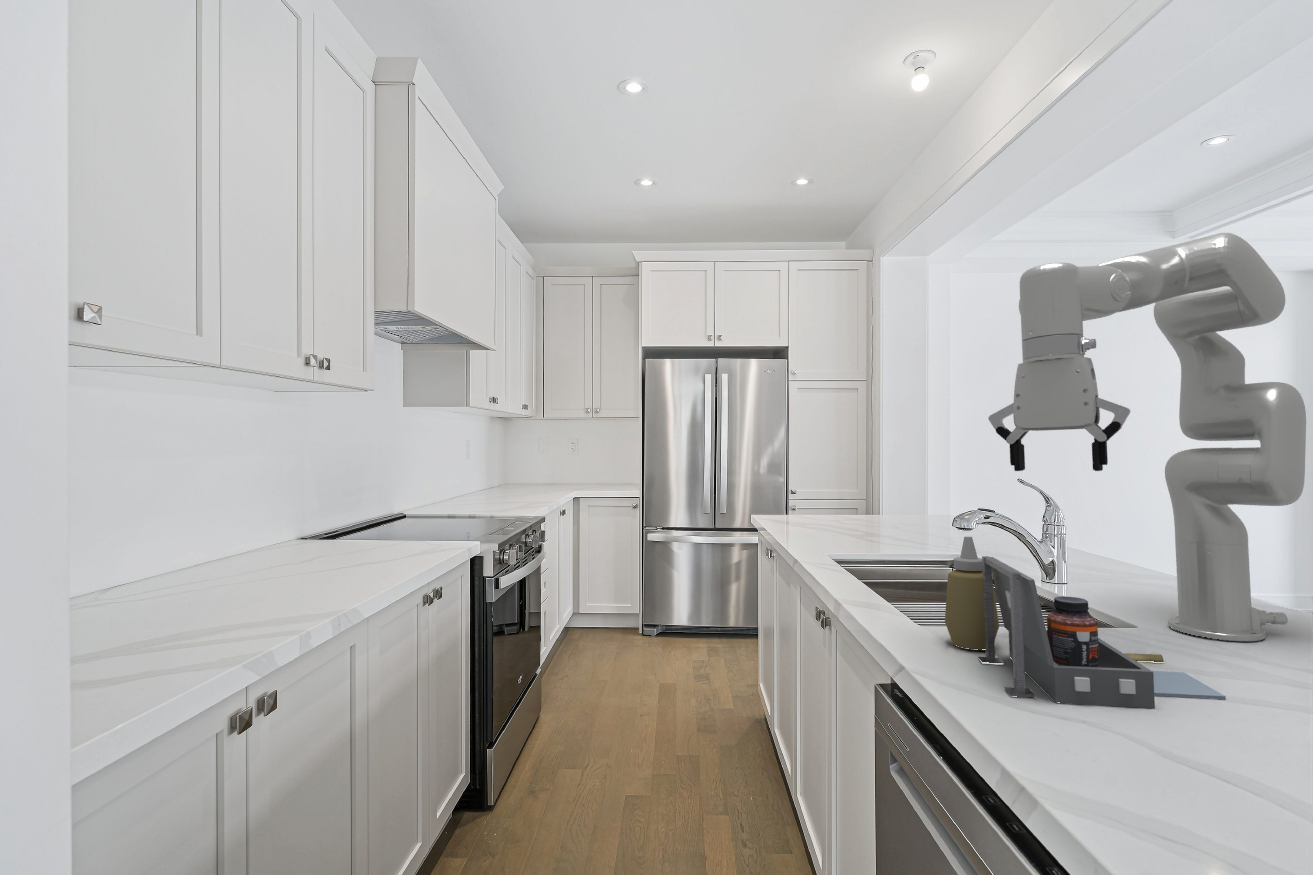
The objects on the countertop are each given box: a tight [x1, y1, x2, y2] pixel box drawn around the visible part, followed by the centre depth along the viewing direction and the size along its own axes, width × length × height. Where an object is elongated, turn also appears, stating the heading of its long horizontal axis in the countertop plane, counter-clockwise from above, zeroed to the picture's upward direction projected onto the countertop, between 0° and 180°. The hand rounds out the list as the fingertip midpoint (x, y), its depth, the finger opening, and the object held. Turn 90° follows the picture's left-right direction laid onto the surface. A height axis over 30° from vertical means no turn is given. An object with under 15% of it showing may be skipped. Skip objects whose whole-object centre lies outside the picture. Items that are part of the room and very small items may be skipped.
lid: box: [990, 556, 1054, 666], centre depth 90 cm, size 11×18×1 cm
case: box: [1008, 629, 1156, 709], centre depth 88 cm, size 11×18×4 cm, turn 167°
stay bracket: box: [977, 555, 1036, 698], centre depth 90 cm, size 3×15×16 cm, turn 167°
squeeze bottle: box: [944, 536, 1000, 651], centre depth 104 cm, size 8×8×18 cm
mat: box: [1152, 670, 1227, 700], centre depth 86 cm, size 9×9×1 cm
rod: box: [1123, 652, 1165, 663], centre depth 96 cm, size 12×1×1 cm, turn 77°
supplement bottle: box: [1046, 595, 1099, 667], centre depth 88 cm, size 6×6×11 cm
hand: (1057, 470), depth 90 cm, fingers open, 9 cm apart
